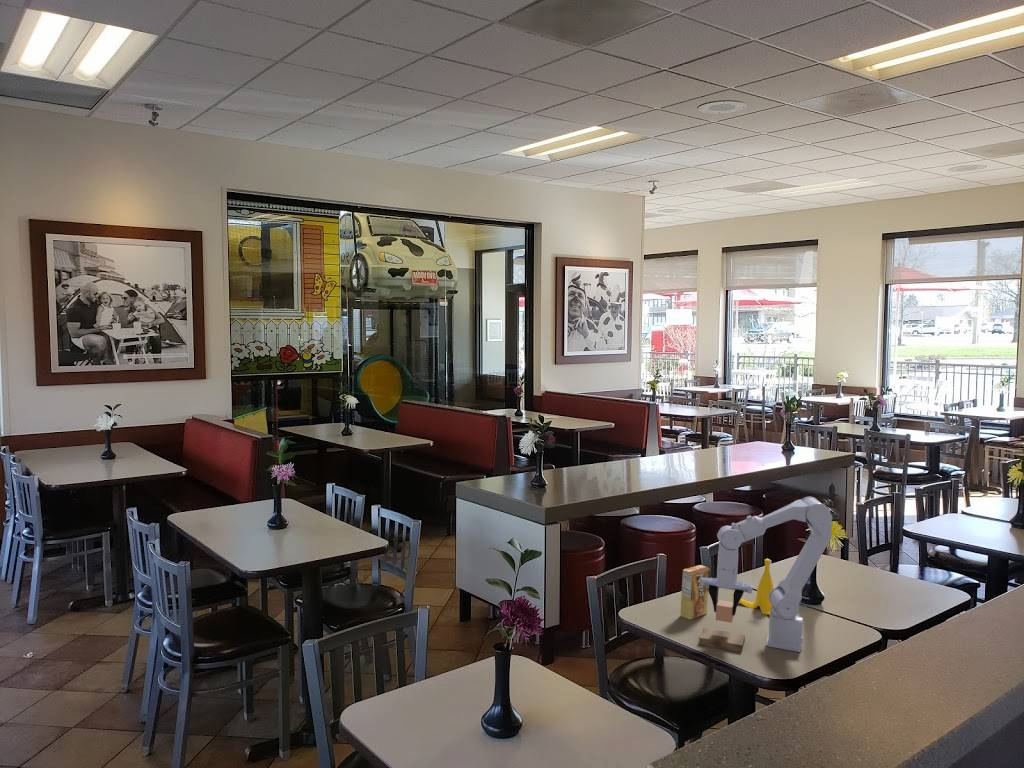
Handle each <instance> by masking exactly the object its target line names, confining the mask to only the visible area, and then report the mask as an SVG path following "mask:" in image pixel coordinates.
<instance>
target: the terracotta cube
mask: <svg viewBox="0 0 1024 768" xmlns="http://www.w3.org/2000/svg"><path fill="white" fill-rule="evenodd" d="M732 611H733V601H732V602H731V601H727V600H722V599H718V603H717V605H716V612H715V621H721V622H726V623H729V624H730V623H732V622H733V619H734V615H732Z"/></svg>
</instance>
